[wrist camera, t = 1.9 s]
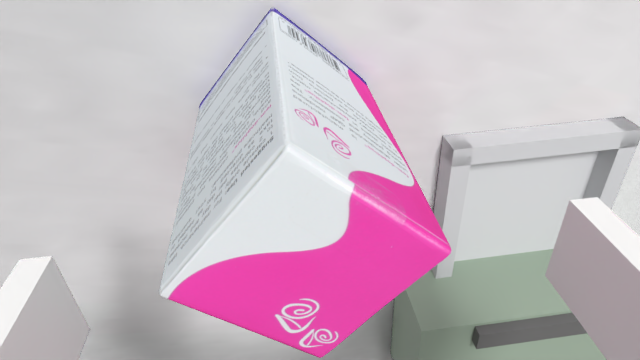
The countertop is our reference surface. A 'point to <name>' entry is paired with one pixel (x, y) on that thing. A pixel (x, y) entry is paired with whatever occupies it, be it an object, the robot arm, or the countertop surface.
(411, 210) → the supplement box
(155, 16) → the countertop surface
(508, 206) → the sliding drawer box
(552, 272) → the robot arm
